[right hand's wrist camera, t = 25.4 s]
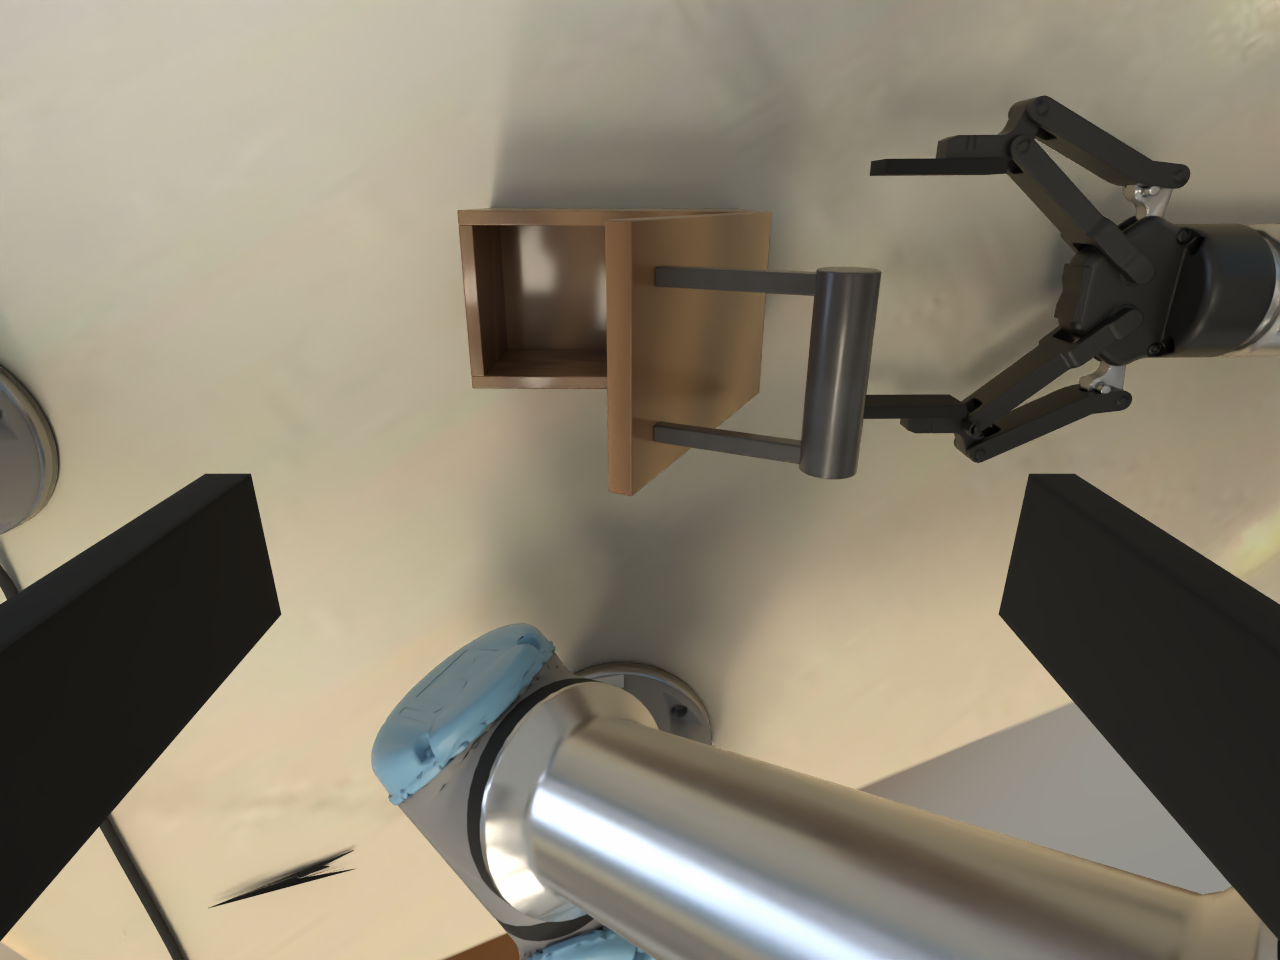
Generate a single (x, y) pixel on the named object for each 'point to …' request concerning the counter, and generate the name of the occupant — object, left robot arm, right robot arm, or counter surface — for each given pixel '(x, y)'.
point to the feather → (289, 881)
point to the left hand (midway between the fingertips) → (863, 294)
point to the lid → (723, 346)
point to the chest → (540, 293)
